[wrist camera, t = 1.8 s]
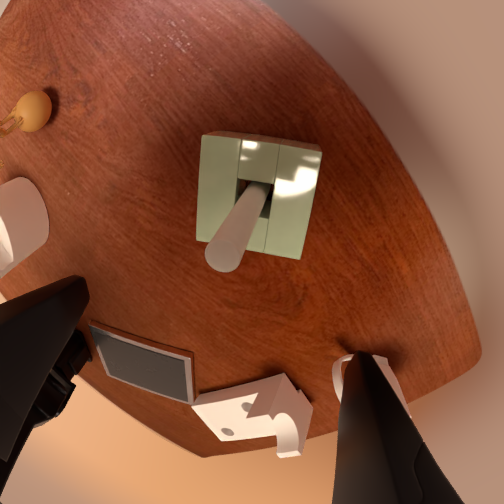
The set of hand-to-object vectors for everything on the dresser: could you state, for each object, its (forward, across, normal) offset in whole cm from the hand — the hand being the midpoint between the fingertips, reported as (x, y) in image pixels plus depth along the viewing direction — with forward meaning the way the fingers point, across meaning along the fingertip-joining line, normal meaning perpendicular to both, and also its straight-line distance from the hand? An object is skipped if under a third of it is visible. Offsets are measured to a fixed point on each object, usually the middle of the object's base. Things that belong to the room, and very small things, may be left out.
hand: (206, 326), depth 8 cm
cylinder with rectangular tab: (+13, +28, +7) cm, 31 cm away
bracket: (+13, -2, +26) cm, 29 cm away
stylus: (+14, +1, 0) cm, 14 cm away
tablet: (+13, +12, +25) cm, 31 cm away
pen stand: (+14, +1, 0) cm, 14 cm away
